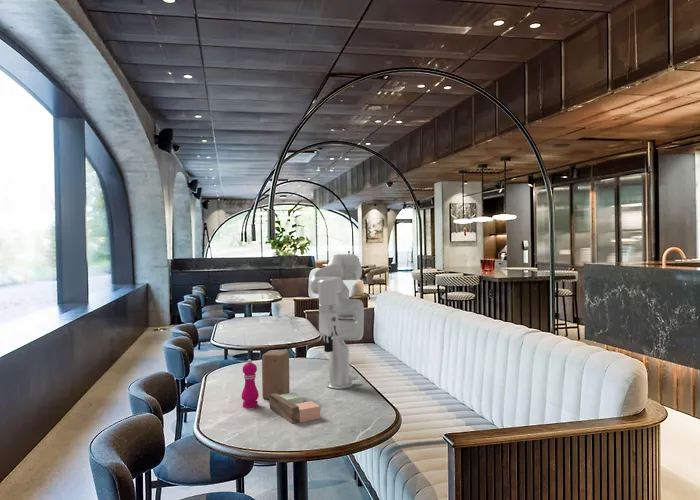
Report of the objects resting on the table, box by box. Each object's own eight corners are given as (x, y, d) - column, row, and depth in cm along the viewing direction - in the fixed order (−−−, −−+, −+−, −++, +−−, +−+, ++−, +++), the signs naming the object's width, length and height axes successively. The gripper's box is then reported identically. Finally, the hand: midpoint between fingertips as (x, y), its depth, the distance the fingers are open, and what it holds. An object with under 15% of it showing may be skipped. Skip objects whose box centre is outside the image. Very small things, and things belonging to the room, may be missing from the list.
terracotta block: (311, 413, 222) (311, 401, 222) (320, 418, 215) (320, 406, 215) (291, 417, 218) (290, 404, 217) (299, 422, 211) (299, 410, 211)
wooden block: (283, 400, 240) (282, 355, 240) (261, 399, 242) (261, 354, 242) (290, 394, 250) (289, 350, 249) (269, 393, 252) (268, 349, 251)
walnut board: (276, 407, 230) (276, 393, 230) (299, 422, 211) (298, 406, 211) (269, 408, 228) (269, 394, 228) (292, 423, 209) (291, 408, 209)
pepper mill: (261, 404, 234) (261, 358, 234) (253, 409, 228) (252, 361, 227) (247, 402, 237) (246, 357, 236) (238, 407, 230) (237, 360, 230)
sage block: (294, 403, 235) (294, 392, 235) (302, 408, 229) (302, 396, 229) (275, 407, 231) (275, 395, 230) (283, 412, 224) (283, 400, 224)
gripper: (344, 309, 224) (345, 353, 225) (327, 305, 237) (327, 347, 238) (328, 311, 220) (329, 356, 221) (311, 306, 233) (312, 349, 234)
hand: (328, 351), depth 230 cm, fingers closed
